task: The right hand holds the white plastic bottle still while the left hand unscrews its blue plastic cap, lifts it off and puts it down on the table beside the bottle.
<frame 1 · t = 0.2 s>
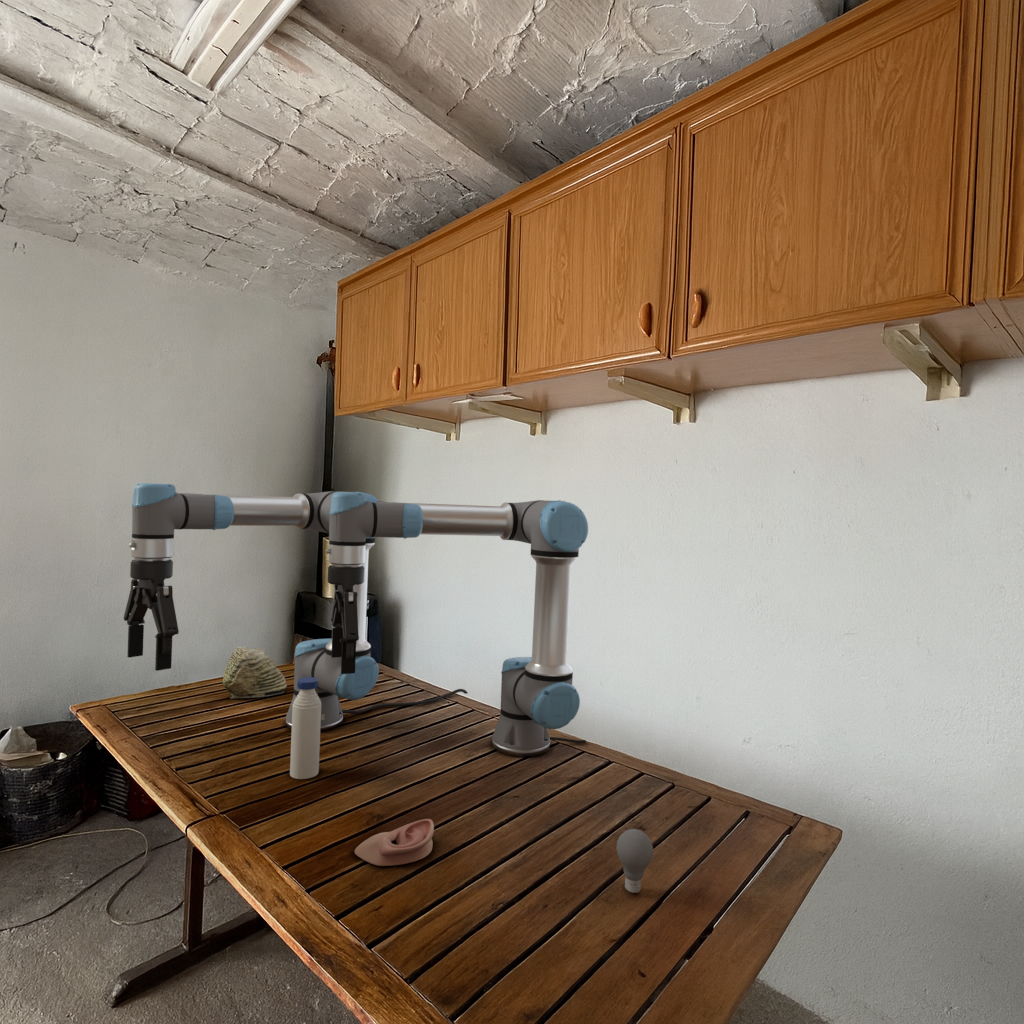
left hand: (148, 662, 129), 28 cm above the table, tool pointing down, fingers open, 13 cm apart
right hand: (342, 664, 134), 28 cm above the table, tool pointing down, fingers open, 13 cm apart
fossil: (254, 694, 198), on the table
bottle: (304, 773, 145), on the table
light bulb: (632, 891, 106), on the table
anatomical model: (394, 850, 115), on the table
cap: (307, 681, 144), point 21 cm above the table, screwed on, not yet turned
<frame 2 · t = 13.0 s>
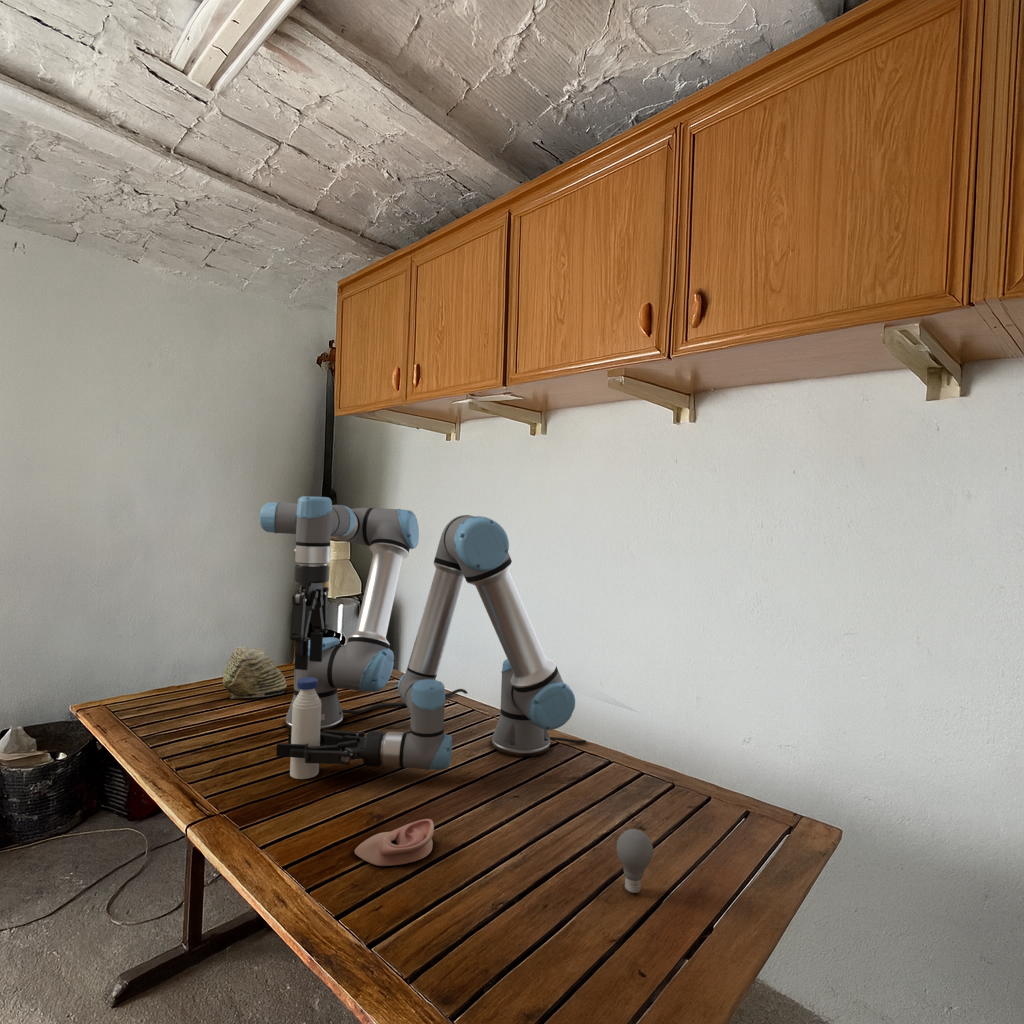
left hand: (308, 664, 144), 25 cm above the table, tool pointing down, fingers open, 7 cm apart
right hand: (283, 743, 145), 7 cm above the table, tool horizontal, fingers closed on bottle, 6 cm apart
bottle: (304, 773, 145), on the table, touching right hand
everything else where it was.
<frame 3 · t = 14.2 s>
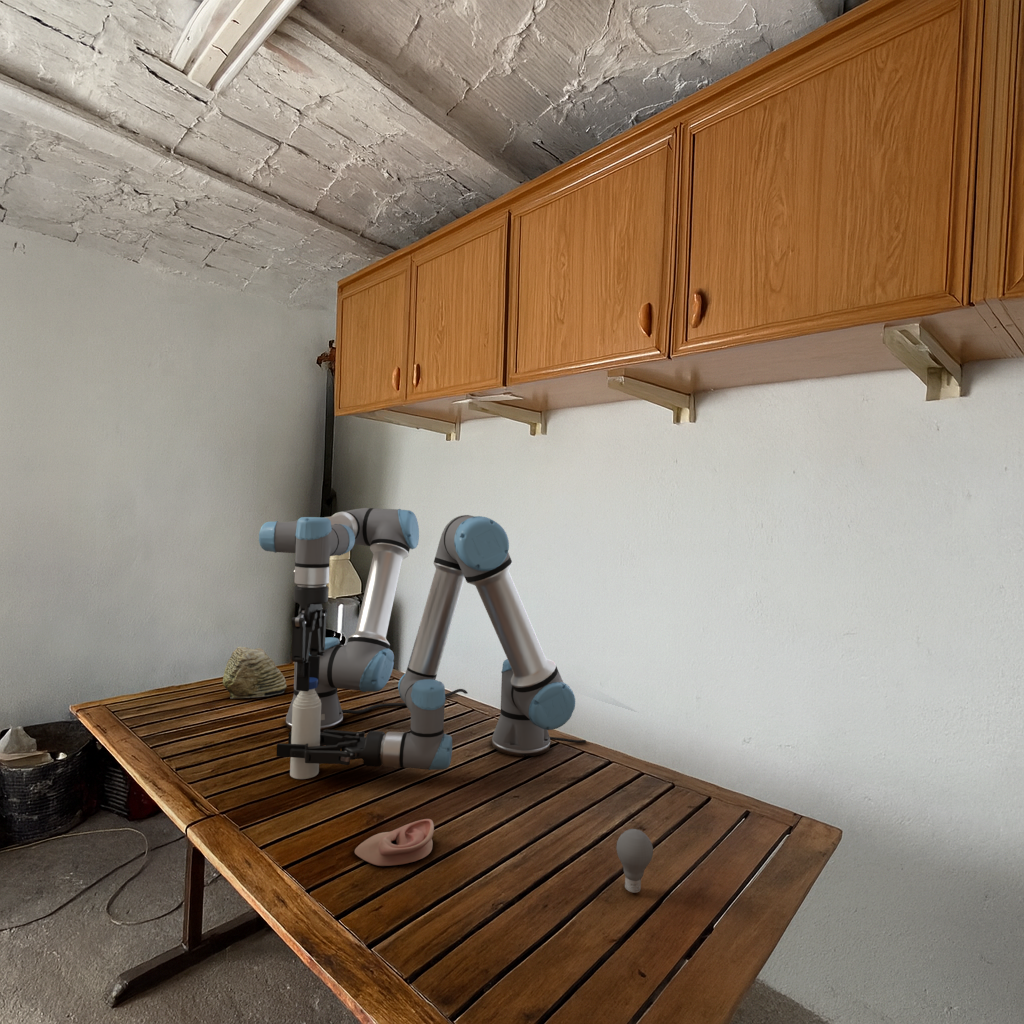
left hand: (307, 687, 144), 20 cm above the table, tool pointing down, fingers closed on cap, 4 cm apart
right hand: (283, 743, 145), 7 cm above the table, tool horizontal, fingers closed on bottle, 6 cm apart
bottle: (304, 773, 145), on the table, touching right hand
cap: (307, 681, 144), point 21 cm above the table, screwed on, not yet turned, touching left hand
everything else where it was.
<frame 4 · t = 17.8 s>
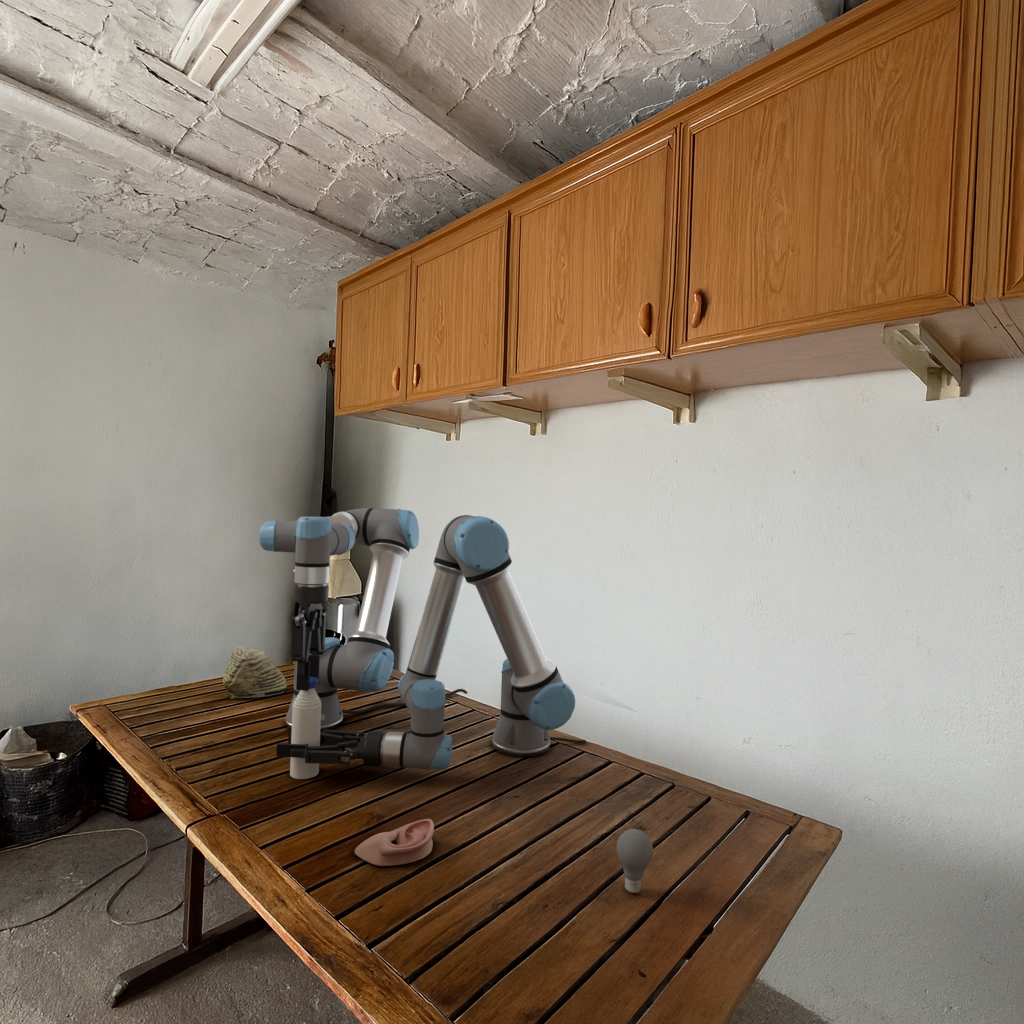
left hand: (307, 686, 144), 20 cm above the table, tool pointing down, fingers closed on cap, 4 cm apart
right hand: (283, 743, 145), 7 cm above the table, tool horizontal, fingers closed on bottle, 6 cm apart
bottle: (304, 773, 145), on the table, touching right hand
cap: (307, 680, 144), point 21 cm above the table, turned 108° so far, risen 0.1 cm, still on its thread, touching left hand
everything else where it was.
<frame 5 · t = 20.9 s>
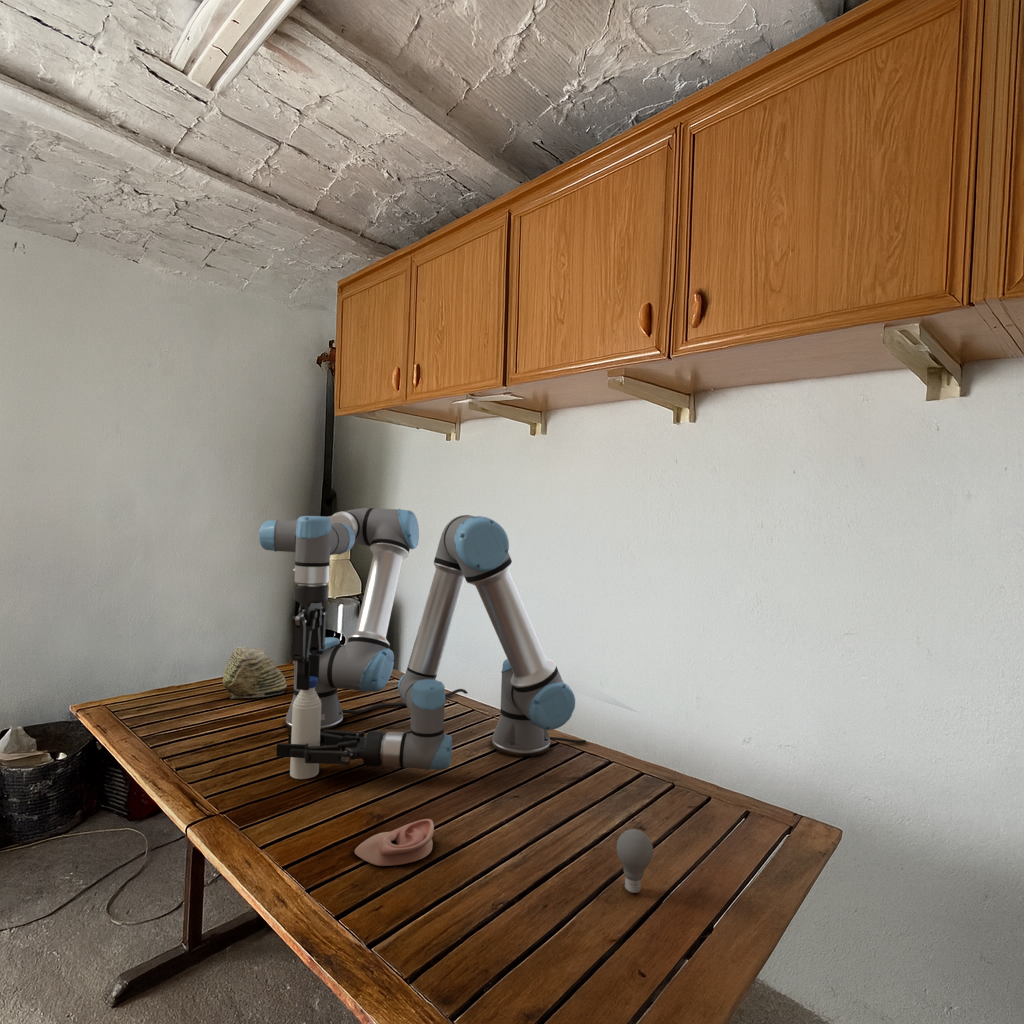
left hand: (307, 685, 144), 20 cm above the table, tool pointing down, fingers closed on cap, 4 cm apart
right hand: (283, 743, 145), 7 cm above the table, tool horizontal, fingers closed on bottle, 6 cm apart
bottle: (304, 773, 145), on the table, touching right hand
cap: (307, 680, 144), point 21 cm above the table, turned 216° so far, risen 0.3 cm, still on its thread, touching left hand
everything else where it was.
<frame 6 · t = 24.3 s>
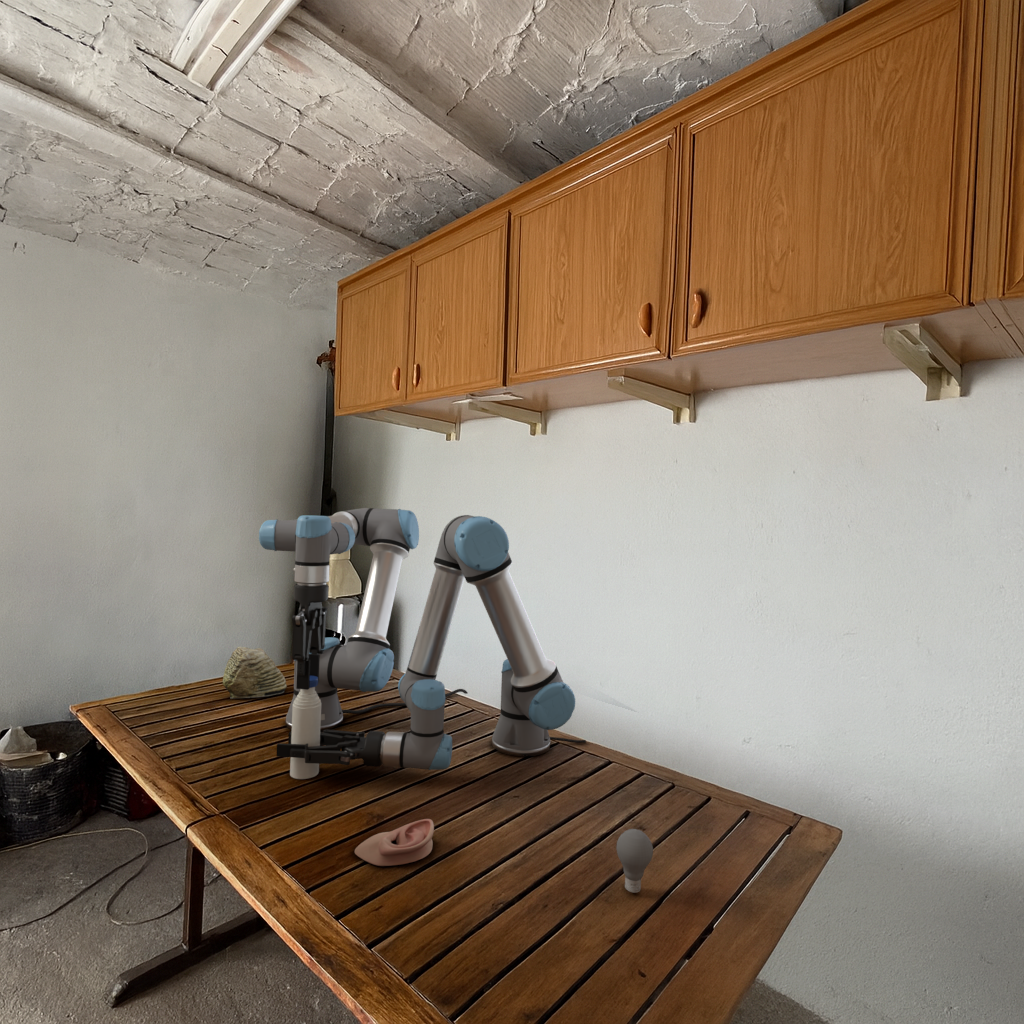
left hand: (307, 685, 144), 20 cm above the table, tool pointing down, fingers closed on cap, 4 cm apart
right hand: (283, 743, 145), 7 cm above the table, tool horizontal, fingers closed on bottle, 6 cm apart
bottle: (304, 773, 145), on the table, touching right hand
cap: (308, 679, 144), point 22 cm above the table, turned 325° so far, risen 0.4 cm, still on its thread, touching left hand
everything else where it was.
when the left hand's fingers open (1 cm above the table, at t = 30.6 s): cap drops 1 cm, point 1 cm above the table.
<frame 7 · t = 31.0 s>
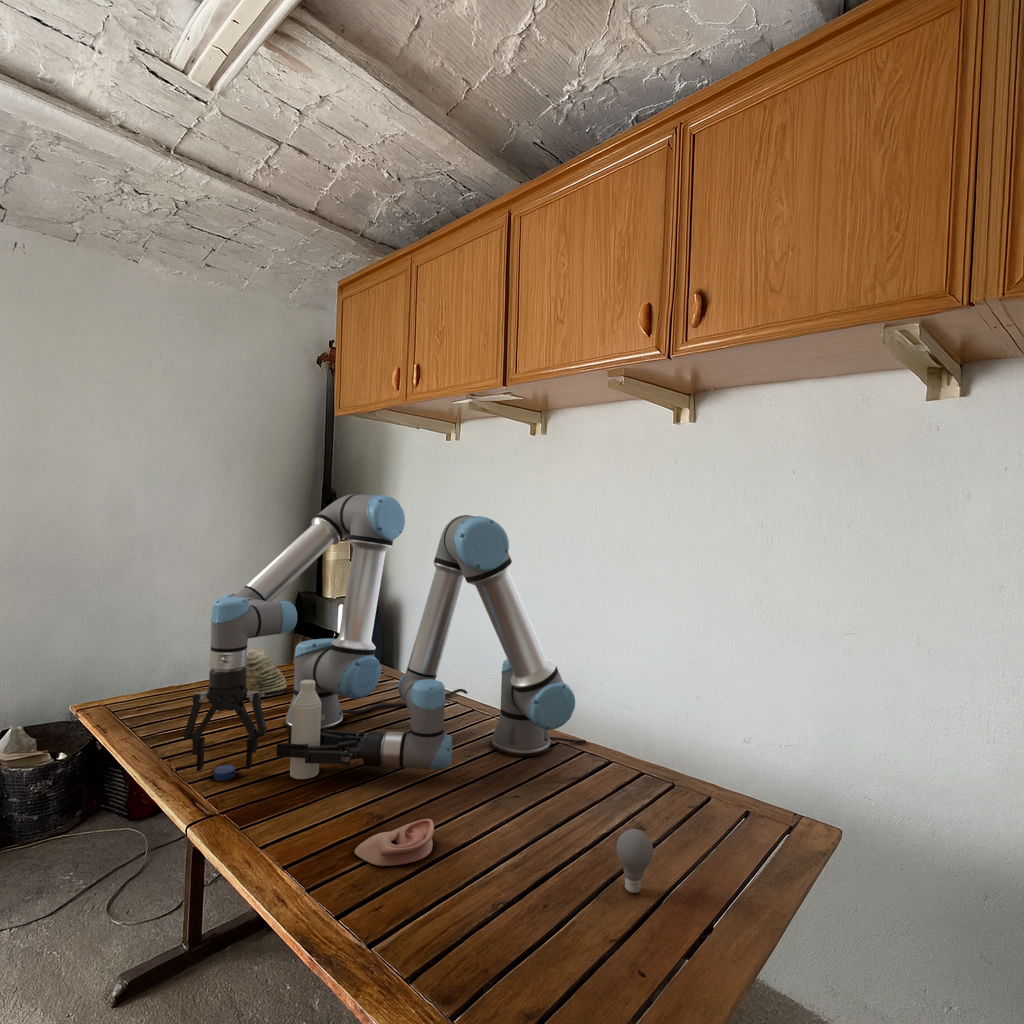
left hand: (224, 767, 141), 2 cm above the table, tool pointing down, fingers open, 9 cm apart
right hand: (283, 743, 145), 7 cm above the table, tool horizontal, fingers closed on bottle, 6 cm apart
bottle: (304, 773, 145), on the table, touching right hand
cap: (224, 770, 141), point 1 cm above the table, off its thread
everything else where it was.
when the right hand's fingers open (7 cm above the table, at t = 31.8 s): bottle stays where it is, on the table.
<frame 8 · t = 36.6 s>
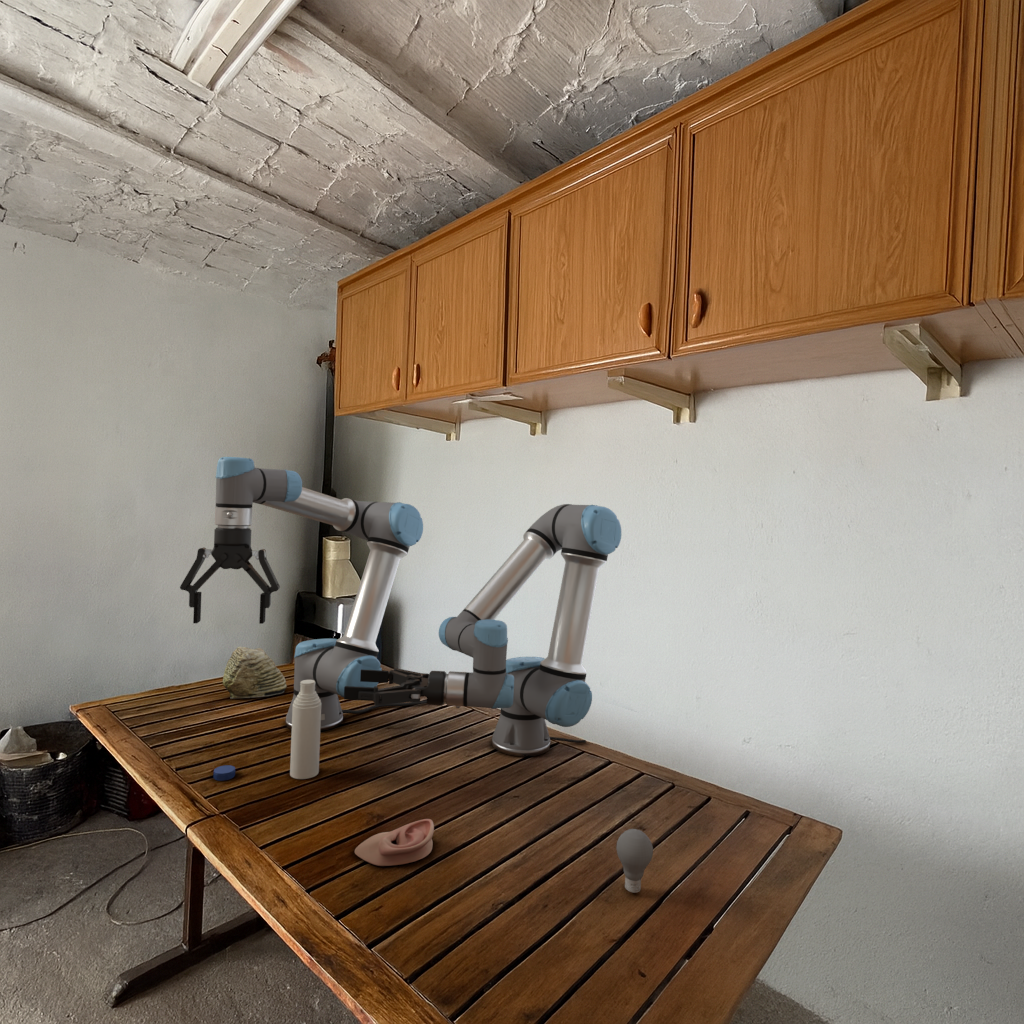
left hand: (229, 622, 141), 34 cm above the table, tool pointing down, fingers open, 13 cm apart
right hand: (352, 683, 144), 21 cm above the table, tool horizontal, fingers open, 13 cm apart
bottle: (304, 773, 145), on the table
everything else where it was.
at the end: cap came off its thread; cap point 1.3 cm above the table; the left hand is holding nothing; the right hand is holding nothing; bottle tilted 0°; bottle moved 0.0 cm from its start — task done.
